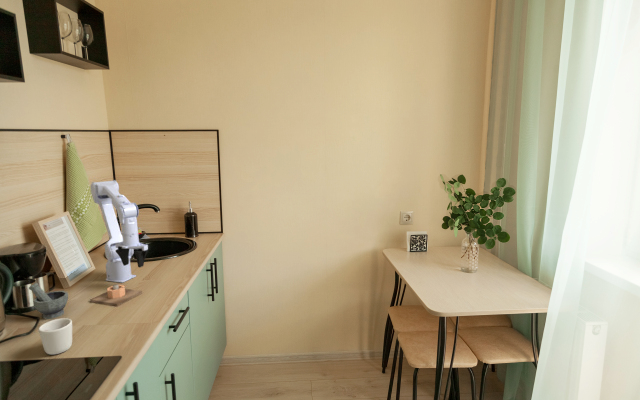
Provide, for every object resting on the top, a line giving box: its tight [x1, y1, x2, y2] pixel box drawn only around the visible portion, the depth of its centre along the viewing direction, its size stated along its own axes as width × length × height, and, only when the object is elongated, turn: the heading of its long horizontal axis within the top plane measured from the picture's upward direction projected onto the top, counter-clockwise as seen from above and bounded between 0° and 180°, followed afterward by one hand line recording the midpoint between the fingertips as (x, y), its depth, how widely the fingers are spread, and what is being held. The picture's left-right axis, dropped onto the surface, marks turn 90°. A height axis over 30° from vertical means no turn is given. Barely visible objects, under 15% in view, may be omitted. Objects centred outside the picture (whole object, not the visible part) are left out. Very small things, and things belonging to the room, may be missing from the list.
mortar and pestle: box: [28, 282, 69, 320], centre depth 130 cm, size 11×9×12 cm
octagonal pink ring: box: [106, 284, 126, 298], centre depth 144 cm, size 6×6×3 cm
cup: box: [38, 317, 73, 355], centre depth 110 cm, size 11×8×8 cm
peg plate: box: [89, 283, 143, 307], centre depth 144 cm, size 13×12×5 cm
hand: (133, 265), depth 152 cm, fingers open, 7 cm apart
